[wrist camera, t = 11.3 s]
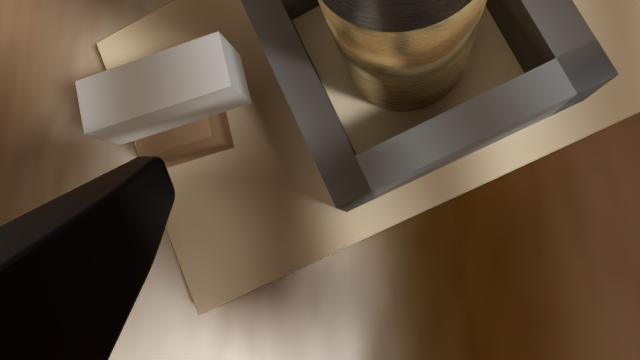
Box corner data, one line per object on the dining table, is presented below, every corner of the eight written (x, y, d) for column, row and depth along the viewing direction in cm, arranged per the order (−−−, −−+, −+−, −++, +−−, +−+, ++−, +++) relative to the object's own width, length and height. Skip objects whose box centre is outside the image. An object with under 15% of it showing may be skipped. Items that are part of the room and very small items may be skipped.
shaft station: (207, 311, 17) (138, 337, 13) (108, 51, 20) (20, -4, 15) (785, 45, 15) (950, -38, 10) (594, -220, 17) (662, -383, 13)
